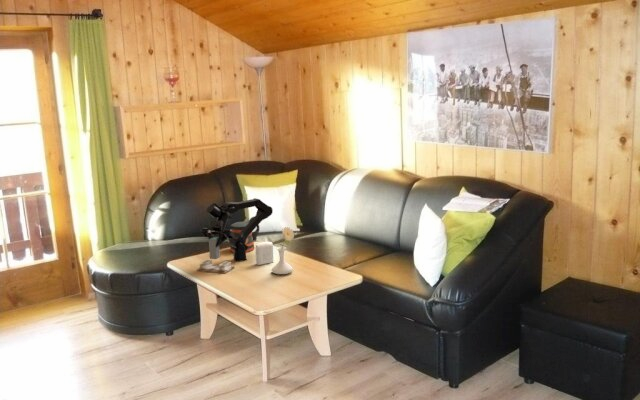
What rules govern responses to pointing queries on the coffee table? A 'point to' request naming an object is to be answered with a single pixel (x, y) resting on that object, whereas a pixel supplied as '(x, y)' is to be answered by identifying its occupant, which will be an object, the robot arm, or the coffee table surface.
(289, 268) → the flower in vase
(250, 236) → the beer stein
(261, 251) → the photo printer
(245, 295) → the coffee table surface
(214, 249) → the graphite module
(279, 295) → the coffee table surface
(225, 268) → the board
